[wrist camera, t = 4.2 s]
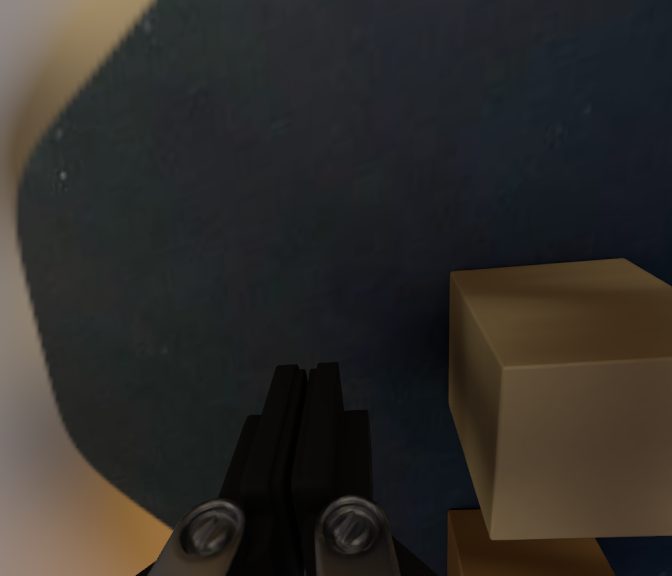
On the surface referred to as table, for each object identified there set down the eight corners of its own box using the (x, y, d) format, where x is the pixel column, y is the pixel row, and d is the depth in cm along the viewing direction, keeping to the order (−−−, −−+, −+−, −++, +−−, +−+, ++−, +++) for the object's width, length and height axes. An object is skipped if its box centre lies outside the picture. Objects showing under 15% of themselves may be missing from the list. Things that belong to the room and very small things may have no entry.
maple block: (448, 403, 15) (490, 542, 10) (449, 270, 13) (502, 368, 8) (598, 395, 14) (712, 536, 10) (624, 257, 12) (785, 351, 8)
